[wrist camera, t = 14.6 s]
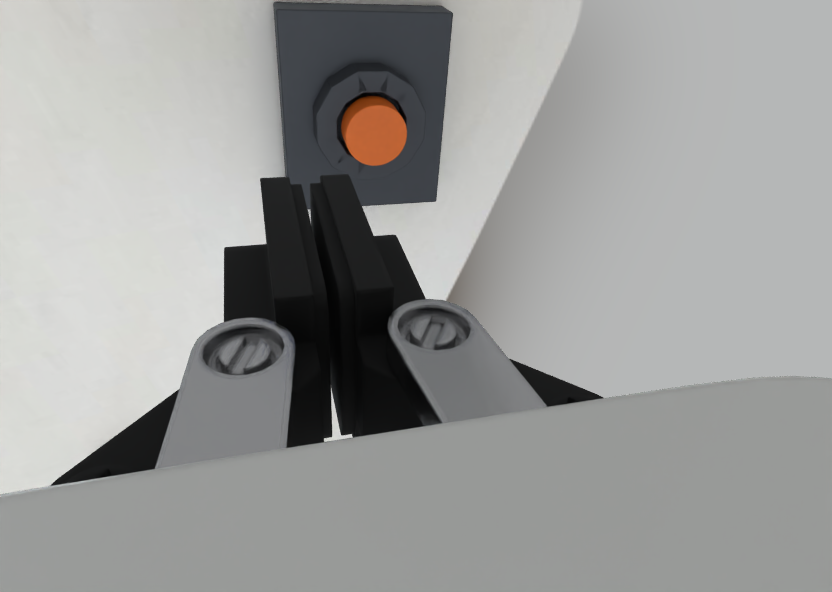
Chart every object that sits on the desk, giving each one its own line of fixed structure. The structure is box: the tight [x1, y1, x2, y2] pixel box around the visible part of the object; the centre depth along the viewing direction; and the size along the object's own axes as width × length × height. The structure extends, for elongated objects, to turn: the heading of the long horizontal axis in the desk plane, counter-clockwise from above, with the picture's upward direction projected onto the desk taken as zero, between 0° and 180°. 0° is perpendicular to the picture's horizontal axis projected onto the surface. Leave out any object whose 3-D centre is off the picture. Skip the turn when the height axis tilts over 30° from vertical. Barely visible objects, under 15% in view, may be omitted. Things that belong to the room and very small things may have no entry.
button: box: [341, 96, 407, 166], centre depth 34 cm, size 4×4×2 cm
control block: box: [273, 2, 453, 209], centre depth 36 cm, size 12×10×4 cm
